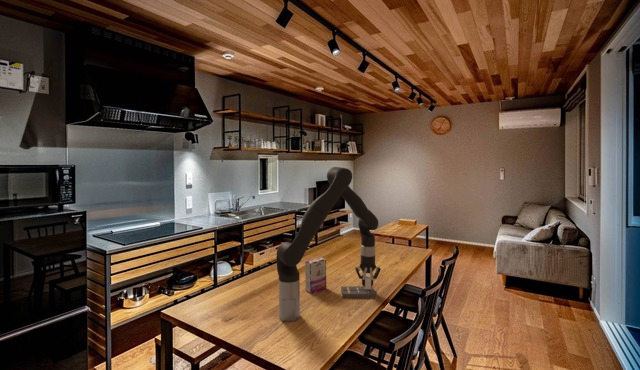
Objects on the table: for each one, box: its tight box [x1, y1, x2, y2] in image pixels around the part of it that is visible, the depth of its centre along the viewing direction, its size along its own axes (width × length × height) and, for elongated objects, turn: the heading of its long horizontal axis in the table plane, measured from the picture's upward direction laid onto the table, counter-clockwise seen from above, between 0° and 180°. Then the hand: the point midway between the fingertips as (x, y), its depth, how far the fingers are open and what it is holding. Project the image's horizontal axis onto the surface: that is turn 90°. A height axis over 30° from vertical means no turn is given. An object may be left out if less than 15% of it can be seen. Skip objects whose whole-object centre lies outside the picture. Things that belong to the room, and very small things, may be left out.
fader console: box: [340, 285, 377, 299], centre depth 174 cm, size 10×17×2 cm, turn 91°
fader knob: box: [364, 274, 371, 290], centre depth 173 cm, size 4×3×7 cm
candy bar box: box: [304, 256, 327, 294], centre depth 179 cm, size 11×5×16 cm, turn 129°
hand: (367, 286), depth 173 cm, fingers closed on fader knob, 3 cm apart
